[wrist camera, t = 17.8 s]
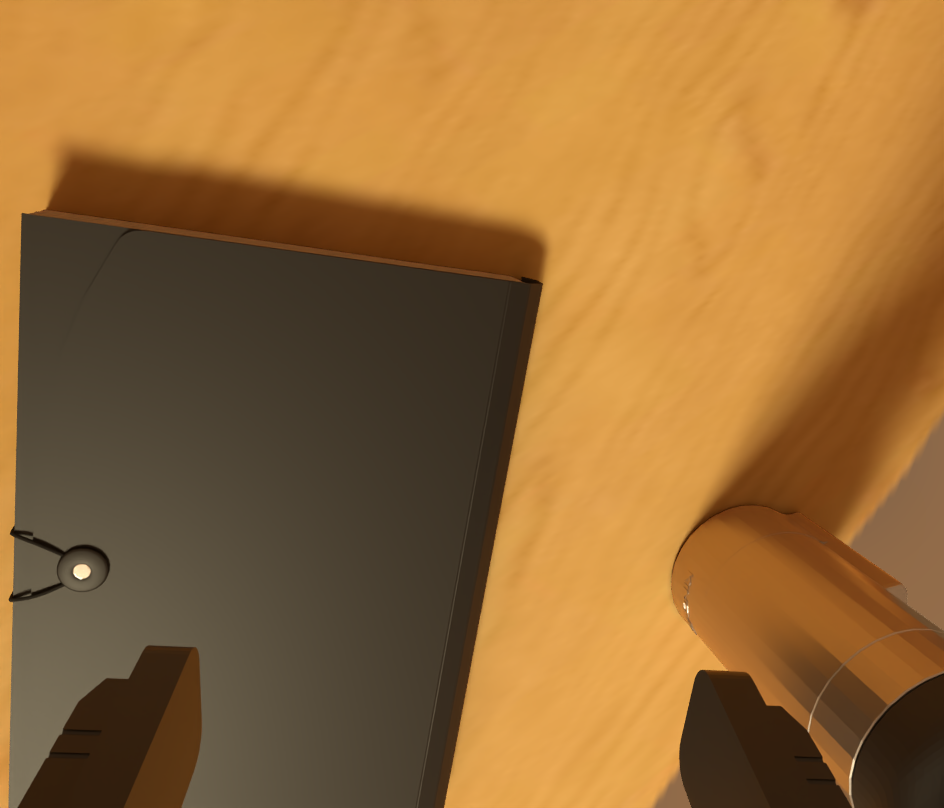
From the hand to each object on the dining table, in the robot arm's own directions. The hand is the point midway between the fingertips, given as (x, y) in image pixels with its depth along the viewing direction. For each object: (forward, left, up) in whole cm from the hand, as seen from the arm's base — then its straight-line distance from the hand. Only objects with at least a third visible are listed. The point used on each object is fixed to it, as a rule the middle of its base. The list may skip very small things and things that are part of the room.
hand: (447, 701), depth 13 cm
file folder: (+6, +12, -32) cm, 34 cm away
